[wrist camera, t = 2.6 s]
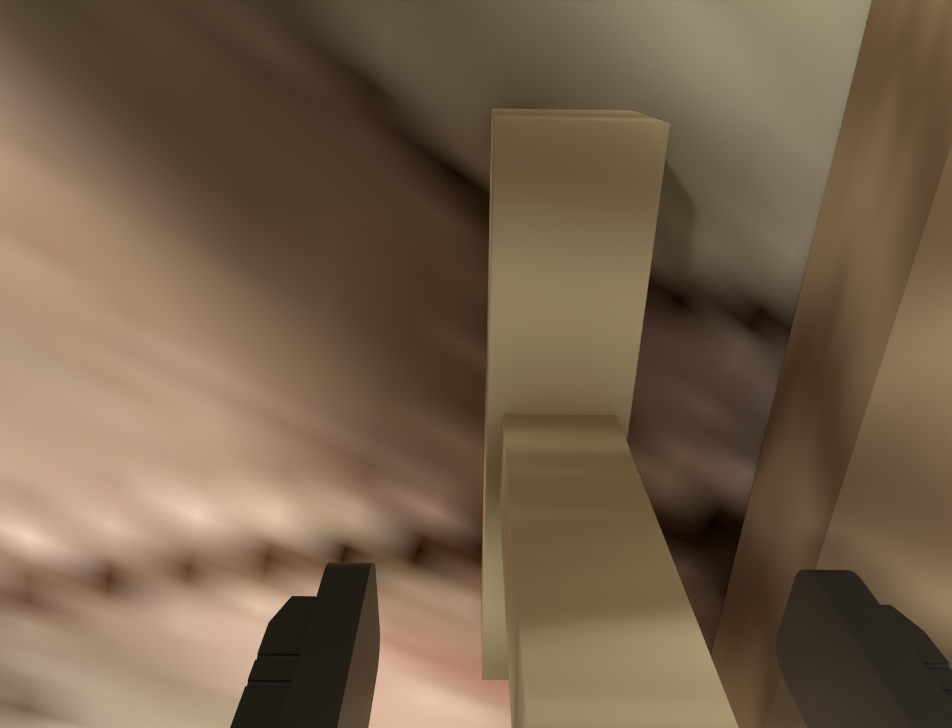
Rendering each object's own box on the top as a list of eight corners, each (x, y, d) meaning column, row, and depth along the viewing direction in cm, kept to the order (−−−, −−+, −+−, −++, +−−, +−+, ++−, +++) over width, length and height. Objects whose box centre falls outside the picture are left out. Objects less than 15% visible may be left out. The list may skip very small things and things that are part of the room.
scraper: (491, 108, 14) (688, 740, 1) (631, 110, 14) (2480, 757, 1) (481, 594, 20) (491, 1542, 7) (578, 595, 20) (758, 1544, 7)
